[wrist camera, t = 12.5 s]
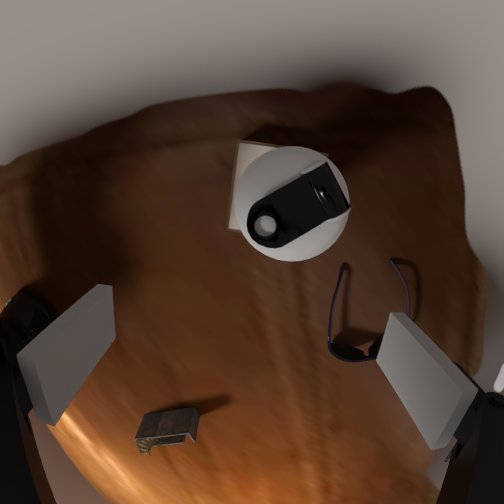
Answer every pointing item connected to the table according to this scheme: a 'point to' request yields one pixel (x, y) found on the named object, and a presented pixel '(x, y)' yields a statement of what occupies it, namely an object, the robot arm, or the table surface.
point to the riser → (243, 159)
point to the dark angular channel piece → (167, 428)
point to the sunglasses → (353, 353)
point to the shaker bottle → (291, 203)
